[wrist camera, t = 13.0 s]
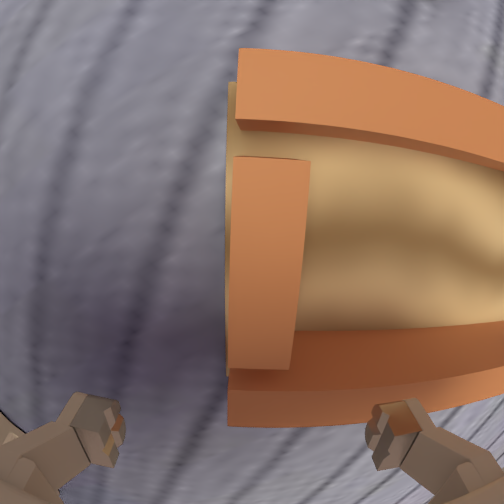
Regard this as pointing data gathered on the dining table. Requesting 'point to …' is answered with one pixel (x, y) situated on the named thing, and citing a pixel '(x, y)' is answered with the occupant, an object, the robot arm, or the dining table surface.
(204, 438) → the dining table surface
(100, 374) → the dining table surface
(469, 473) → the robot arm
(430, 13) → the dining table surface
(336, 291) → the tray
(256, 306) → the c link
